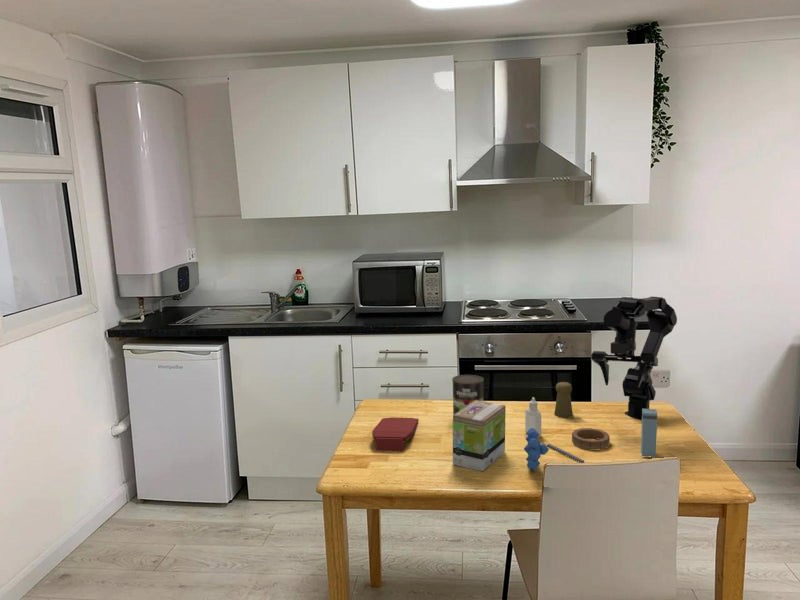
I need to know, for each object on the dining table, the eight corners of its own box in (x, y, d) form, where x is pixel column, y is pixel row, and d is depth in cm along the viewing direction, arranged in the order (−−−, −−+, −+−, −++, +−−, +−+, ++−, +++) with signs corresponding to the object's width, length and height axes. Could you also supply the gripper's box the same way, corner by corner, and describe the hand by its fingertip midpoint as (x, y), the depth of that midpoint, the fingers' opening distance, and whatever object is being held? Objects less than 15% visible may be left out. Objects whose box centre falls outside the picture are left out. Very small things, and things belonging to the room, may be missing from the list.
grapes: (551, 480, 163) (551, 436, 161) (525, 479, 164) (525, 436, 162) (546, 461, 174) (547, 420, 172) (522, 460, 175) (522, 419, 173)
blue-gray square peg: (640, 451, 178) (642, 408, 176) (654, 452, 177) (656, 409, 175) (641, 457, 174) (643, 412, 172) (655, 458, 173) (657, 413, 171)
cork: (571, 411, 212) (571, 380, 210) (574, 417, 206) (574, 385, 204) (553, 411, 212) (553, 380, 211) (555, 417, 207) (556, 385, 205)
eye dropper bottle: (527, 438, 190) (527, 400, 188) (524, 431, 196) (524, 394, 194) (541, 438, 190) (542, 400, 188) (538, 431, 196) (538, 394, 194)
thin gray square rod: (549, 445, 184) (549, 443, 184) (584, 462, 172) (584, 460, 172) (546, 446, 184) (546, 444, 184) (581, 463, 172) (581, 461, 172)
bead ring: (590, 433, 192) (590, 425, 192) (616, 444, 183) (616, 436, 183) (565, 440, 188) (565, 432, 187) (590, 452, 178) (590, 444, 178)
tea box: (484, 472, 168) (484, 420, 166) (451, 465, 174) (450, 414, 171) (506, 452, 181) (506, 403, 178) (474, 445, 186) (474, 398, 184)
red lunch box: (383, 431, 210) (369, 451, 185) (383, 417, 210) (369, 434, 185) (419, 432, 208) (409, 452, 184) (419, 417, 208) (409, 435, 183)
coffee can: (482, 425, 202) (482, 384, 199) (451, 424, 204) (450, 382, 202) (485, 414, 212) (484, 374, 209) (455, 413, 214) (454, 373, 211)
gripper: (588, 329, 191) (583, 378, 187) (652, 330, 181) (649, 382, 177) (597, 338, 200) (593, 386, 196) (659, 340, 190) (656, 390, 186)
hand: (622, 386), depth 189 cm, fingers open, 9 cm apart
